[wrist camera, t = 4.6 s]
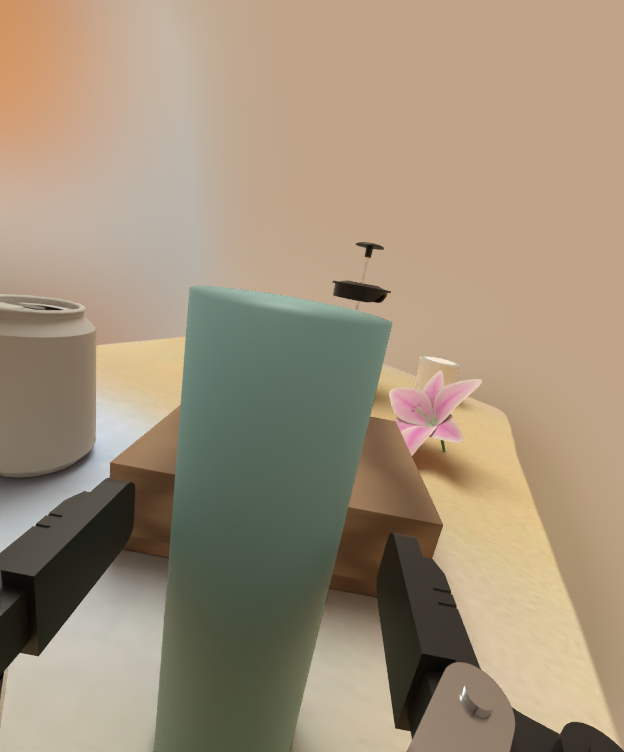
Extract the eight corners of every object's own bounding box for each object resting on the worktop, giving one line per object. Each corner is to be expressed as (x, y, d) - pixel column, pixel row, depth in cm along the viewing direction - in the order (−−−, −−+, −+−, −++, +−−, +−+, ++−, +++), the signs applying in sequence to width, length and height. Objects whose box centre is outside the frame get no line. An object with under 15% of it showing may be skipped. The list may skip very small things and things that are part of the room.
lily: (383, 427, 48) (368, 368, 43) (476, 417, 44) (470, 351, 40) (381, 498, 38) (362, 431, 33) (501, 493, 34) (497, 417, 30)
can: (115, 443, 30) (118, 306, 27) (45, 493, 23) (37, 314, 20) (33, 427, 30) (26, 288, 27) (-62, 472, 23) (-87, 290, 20)
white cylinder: (409, 397, 60) (419, 358, 58) (411, 388, 66) (421, 352, 64) (450, 408, 58) (462, 368, 56) (449, 397, 64) (459, 361, 62)
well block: (108, 546, 20) (110, 462, 18) (198, 439, 33) (203, 385, 32) (416, 604, 20) (443, 524, 18) (382, 473, 33) (395, 421, 32)
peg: (123, 812, 11) (146, 287, 6) (188, 647, 15) (226, 285, 11) (282, 843, 11) (414, 337, 6) (297, 668, 15) (378, 312, 11)
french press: (378, 392, 59) (411, 252, 53) (362, 406, 51) (400, 242, 45) (316, 374, 64) (341, 243, 57) (293, 384, 55) (319, 232, 49)
